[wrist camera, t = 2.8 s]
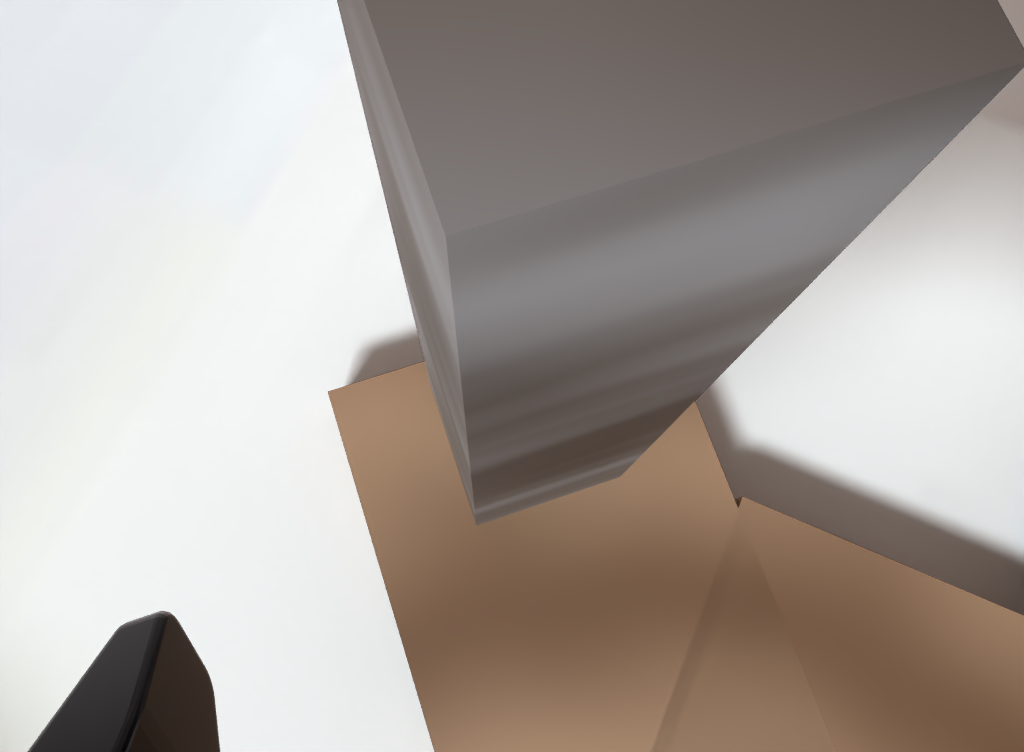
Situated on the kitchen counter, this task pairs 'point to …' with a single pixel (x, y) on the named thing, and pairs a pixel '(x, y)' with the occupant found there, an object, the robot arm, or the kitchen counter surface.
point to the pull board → (647, 370)
